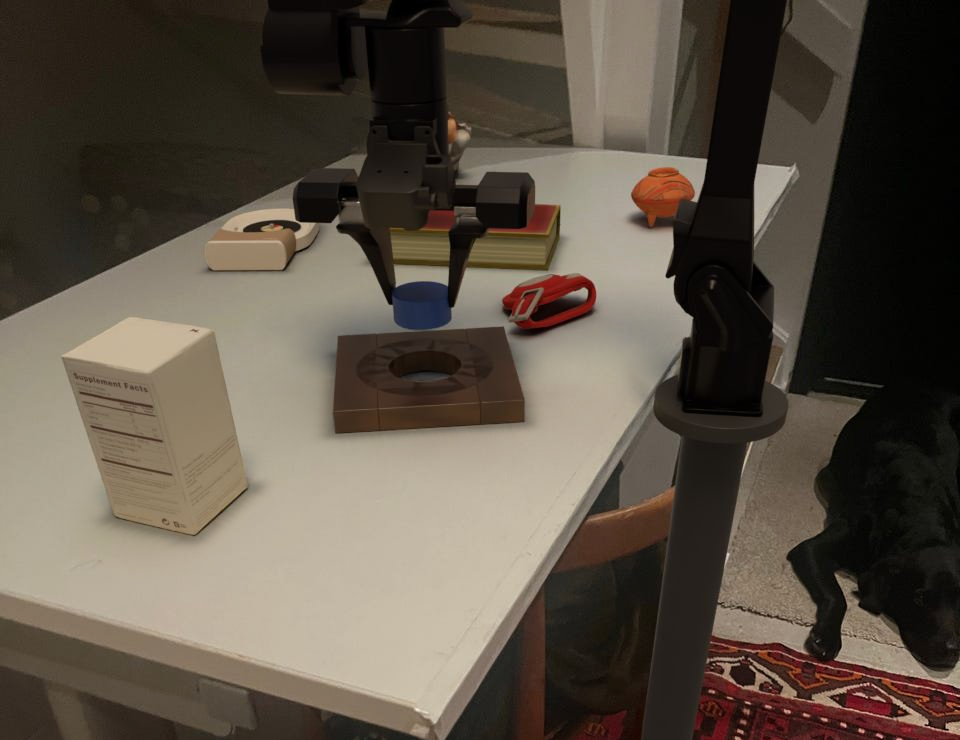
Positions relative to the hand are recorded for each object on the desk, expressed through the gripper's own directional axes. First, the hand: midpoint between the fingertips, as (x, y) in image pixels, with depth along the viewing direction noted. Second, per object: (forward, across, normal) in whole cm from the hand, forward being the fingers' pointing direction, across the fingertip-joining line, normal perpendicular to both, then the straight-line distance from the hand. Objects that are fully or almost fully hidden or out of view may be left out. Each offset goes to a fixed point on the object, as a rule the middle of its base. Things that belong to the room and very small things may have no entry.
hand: (421, 304), depth 79 cm
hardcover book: (+8, -3, +38) cm, 39 cm away
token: (+1, 0, 0) cm, 1 cm away
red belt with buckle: (+8, +8, +18) cm, 21 cm away
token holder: (+8, 0, 0) cm, 8 cm away
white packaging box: (+8, -14, -22) cm, 27 cm away
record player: (+8, -29, +38) cm, 48 cm away
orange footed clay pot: (+11, +6, +43) cm, 45 cm away
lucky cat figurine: (+8, -16, +70) cm, 72 cm away
